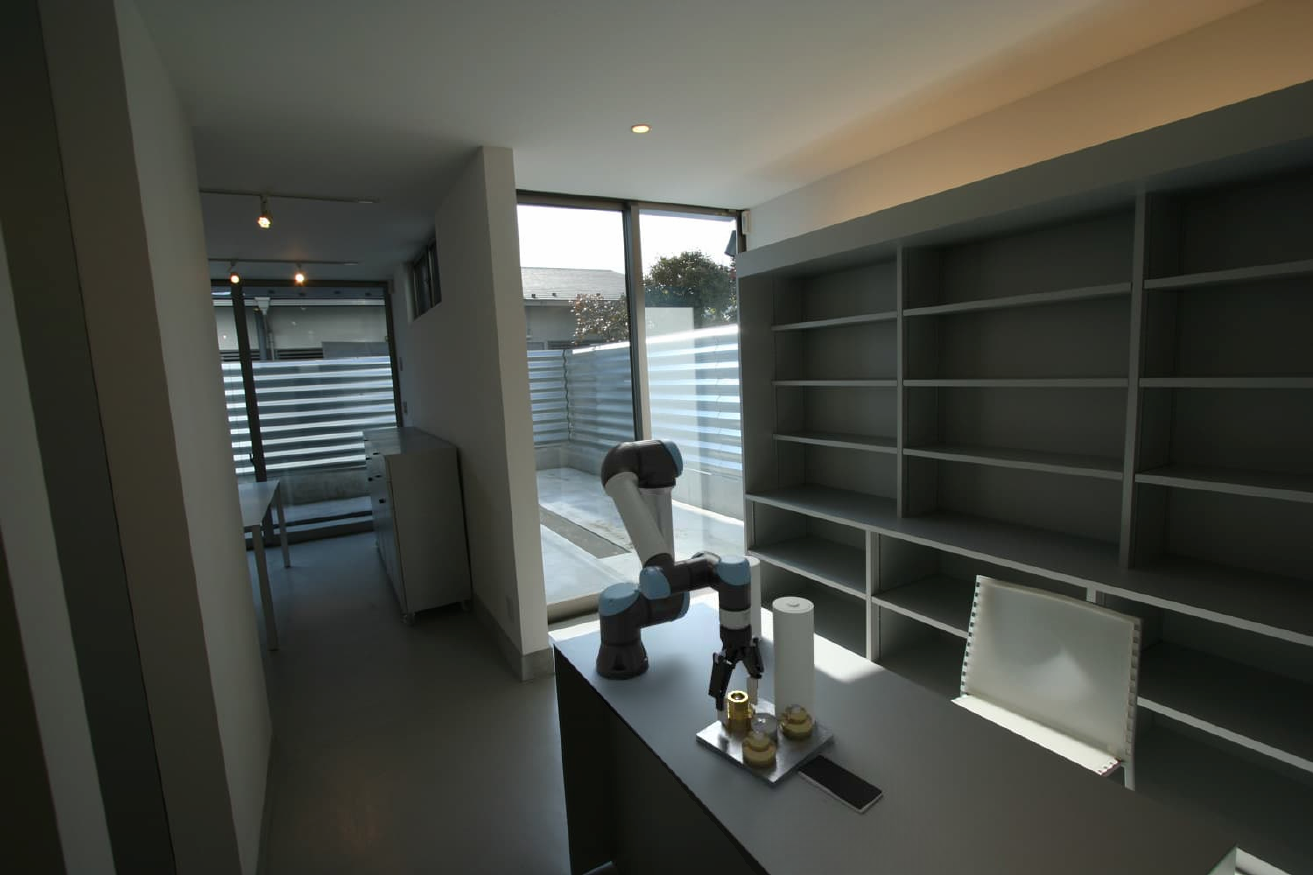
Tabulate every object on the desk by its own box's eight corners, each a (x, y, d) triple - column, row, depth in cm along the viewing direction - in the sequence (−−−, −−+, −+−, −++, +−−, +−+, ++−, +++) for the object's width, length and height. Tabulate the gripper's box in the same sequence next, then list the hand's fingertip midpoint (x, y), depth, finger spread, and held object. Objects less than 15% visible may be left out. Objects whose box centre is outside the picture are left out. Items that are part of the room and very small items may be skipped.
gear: (714, 719, 142) (713, 696, 141) (736, 705, 147) (736, 683, 146) (740, 734, 136) (739, 710, 135) (763, 719, 141) (762, 696, 140)
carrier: (696, 740, 137) (695, 712, 136) (757, 701, 151) (756, 675, 150) (773, 788, 120) (772, 756, 119) (833, 740, 135) (833, 711, 134)
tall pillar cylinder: (753, 648, 179) (751, 568, 176) (721, 641, 185) (718, 563, 181) (766, 634, 188) (765, 558, 184) (736, 627, 193) (734, 553, 190)
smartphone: (860, 811, 113) (796, 770, 124) (860, 816, 113) (796, 775, 124) (883, 790, 118) (819, 753, 129) (883, 796, 118) (819, 758, 129)
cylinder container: (816, 735, 137) (814, 611, 134) (774, 731, 139) (772, 610, 136) (813, 711, 147) (812, 595, 143) (774, 708, 148) (772, 593, 145)
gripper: (714, 644, 128) (717, 740, 131) (778, 612, 143) (779, 699, 146) (689, 633, 134) (693, 725, 137) (753, 604, 148) (755, 687, 151)
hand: (737, 712), depth 141 cm, fingers open, 10 cm apart
